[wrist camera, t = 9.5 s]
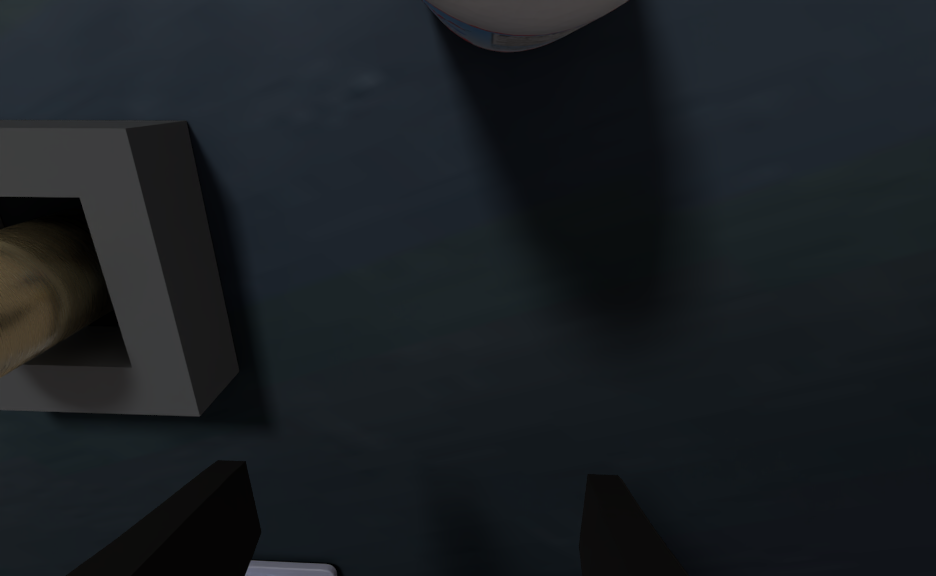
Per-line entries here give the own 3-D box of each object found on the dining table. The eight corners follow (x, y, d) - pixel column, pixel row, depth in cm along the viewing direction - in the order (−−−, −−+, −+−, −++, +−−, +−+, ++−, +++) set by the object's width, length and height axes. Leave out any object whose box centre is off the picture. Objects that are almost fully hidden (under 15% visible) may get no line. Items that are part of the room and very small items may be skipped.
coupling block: (239, 371, 21) (199, 416, 18) (12, 365, 21) (-61, 407, 18) (186, 120, 17) (125, 128, 14) (-91, 119, 17) (-203, 127, 14)
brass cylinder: (150, 311, 20) (17, 400, 14) (52, 301, 20) (-118, 386, 14) (133, 214, 18) (-24, 272, 13) (27, 203, 18) (-176, 257, 13)
